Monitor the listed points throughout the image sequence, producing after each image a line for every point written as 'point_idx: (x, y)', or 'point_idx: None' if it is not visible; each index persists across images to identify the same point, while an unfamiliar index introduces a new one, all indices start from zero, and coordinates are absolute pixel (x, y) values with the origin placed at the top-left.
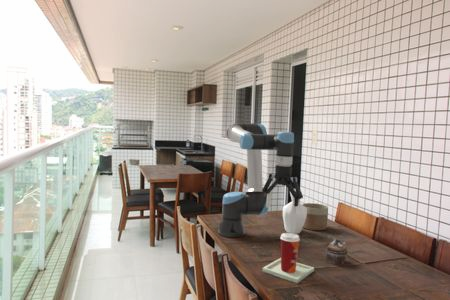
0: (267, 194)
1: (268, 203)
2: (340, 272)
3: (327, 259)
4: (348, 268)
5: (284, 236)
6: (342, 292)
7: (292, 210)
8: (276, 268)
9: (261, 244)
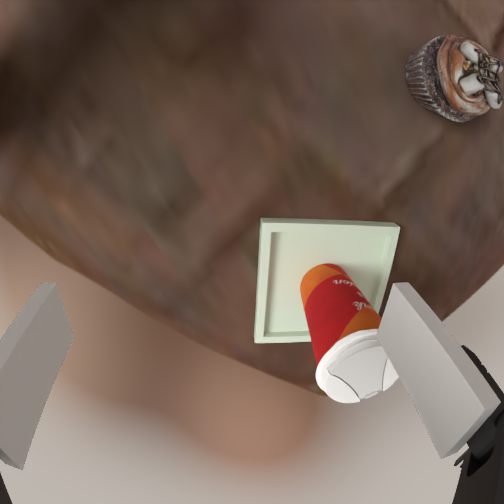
0: (12, 460)
1: (54, 357)
2: (459, 175)
3: (416, 97)
4: (472, 124)
5: (346, 401)
6: (461, 294)
7: (393, 356)
8: (285, 300)
9: (87, 99)
